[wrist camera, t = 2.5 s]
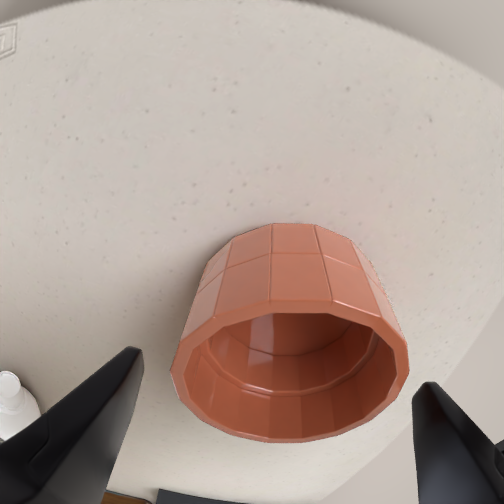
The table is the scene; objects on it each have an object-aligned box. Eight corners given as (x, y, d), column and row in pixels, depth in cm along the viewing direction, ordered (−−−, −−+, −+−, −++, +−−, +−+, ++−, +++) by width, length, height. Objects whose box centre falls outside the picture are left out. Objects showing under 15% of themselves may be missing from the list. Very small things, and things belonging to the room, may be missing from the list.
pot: (403, 297, 12) (441, 381, 8) (283, 375, 14) (282, 457, 10) (293, 175, 10) (306, 239, 6) (168, 294, 12) (131, 380, 8)
